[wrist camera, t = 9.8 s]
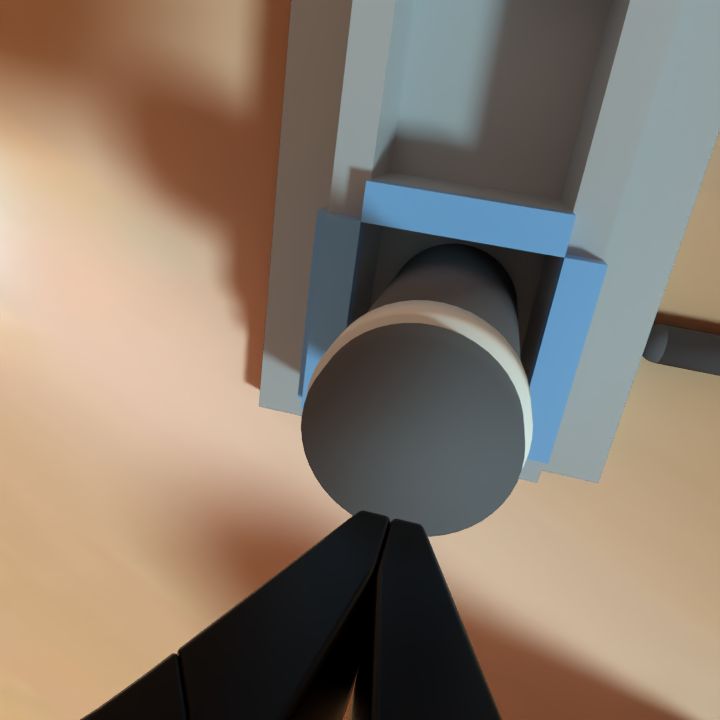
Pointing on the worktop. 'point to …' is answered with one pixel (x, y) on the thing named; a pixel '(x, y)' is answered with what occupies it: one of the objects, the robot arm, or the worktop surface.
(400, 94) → the narrow cubby shelf
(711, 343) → the rod
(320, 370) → the dark grey cylinder
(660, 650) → the worktop surface
